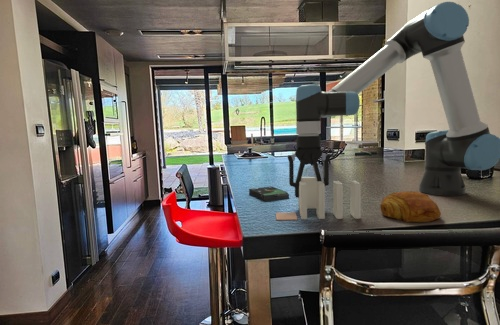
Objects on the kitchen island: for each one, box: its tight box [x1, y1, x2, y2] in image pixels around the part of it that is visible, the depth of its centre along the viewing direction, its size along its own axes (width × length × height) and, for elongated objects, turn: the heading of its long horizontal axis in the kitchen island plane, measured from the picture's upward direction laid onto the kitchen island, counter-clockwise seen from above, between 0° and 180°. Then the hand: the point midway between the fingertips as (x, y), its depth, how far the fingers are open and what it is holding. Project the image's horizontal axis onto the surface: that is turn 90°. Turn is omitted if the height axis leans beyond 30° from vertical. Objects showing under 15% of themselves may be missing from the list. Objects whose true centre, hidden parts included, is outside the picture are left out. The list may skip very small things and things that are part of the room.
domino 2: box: [300, 176, 317, 210], centre depth 100 cm, size 5×2×10 cm, turn 87°
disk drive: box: [248, 186, 290, 202], centre depth 121 cm, size 10×3×15 cm
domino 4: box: [332, 180, 344, 220], centre depth 90 cm, size 2×5×10 cm, turn 177°
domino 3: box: [315, 180, 326, 220], centre depth 90 cm, size 2×5×10 cm, turn 177°
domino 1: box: [299, 181, 308, 220], centre depth 91 cm, size 2×5×10 cm, turn 177°
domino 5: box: [349, 180, 362, 220], centre depth 90 cm, size 2×5×10 cm, turn 177°
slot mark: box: [275, 212, 298, 221], centre depth 91 cm, size 6×7×1 cm
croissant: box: [379, 190, 442, 223], centre depth 89 cm, size 14×16×8 cm
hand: (308, 206), depth 101 cm, fingers closed on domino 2, 5 cm apart
